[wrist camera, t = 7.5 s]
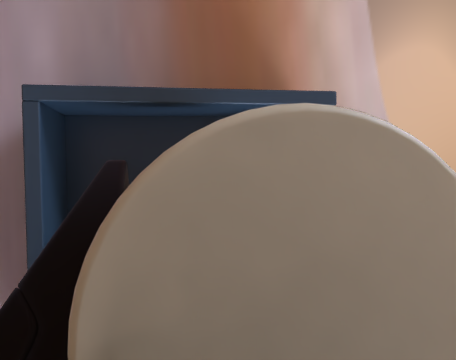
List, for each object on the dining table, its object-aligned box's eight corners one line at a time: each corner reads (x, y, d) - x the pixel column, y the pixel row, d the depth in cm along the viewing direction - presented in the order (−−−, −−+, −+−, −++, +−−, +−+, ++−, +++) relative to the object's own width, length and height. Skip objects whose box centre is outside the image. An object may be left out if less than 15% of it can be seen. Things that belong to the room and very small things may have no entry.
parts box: (299, 351, 21) (337, 401, 17) (62, 375, 19) (32, 441, 14) (297, 107, 21) (336, 90, 16) (54, 104, 19) (21, 84, 14)
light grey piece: (212, 276, 15) (390, 629, 4) (117, 228, 15) (-47, 469, 3) (262, 184, 16) (581, 234, 4) (171, 132, 15) (220, -1, 3)
